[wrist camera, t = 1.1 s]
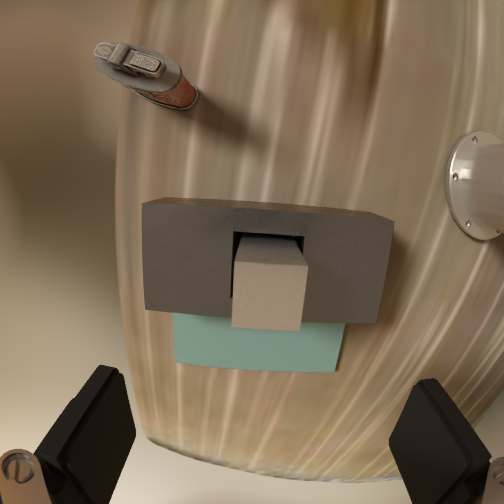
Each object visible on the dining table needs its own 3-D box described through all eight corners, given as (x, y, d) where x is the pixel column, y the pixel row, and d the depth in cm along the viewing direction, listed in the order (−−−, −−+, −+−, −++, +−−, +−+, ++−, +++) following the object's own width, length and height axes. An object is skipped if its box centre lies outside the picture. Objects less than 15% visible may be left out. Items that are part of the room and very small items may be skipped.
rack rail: (369, 212, 28) (394, 221, 22) (356, 297, 30) (375, 323, 25) (164, 197, 28) (141, 203, 23) (164, 285, 31) (145, 309, 25)
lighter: (123, 90, 26) (71, 63, 16) (139, 63, 25) (93, 25, 15) (188, 117, 26) (154, 91, 17) (205, 87, 26) (180, 48, 16)
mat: (346, 306, 31) (348, 309, 30) (333, 367, 33) (334, 371, 32) (174, 295, 31) (171, 298, 30) (177, 358, 33) (175, 362, 32)
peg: (288, 229, 29) (308, 266, 17) (284, 271, 30) (299, 331, 18) (244, 226, 29) (234, 261, 17) (242, 268, 30) (231, 327, 18)
